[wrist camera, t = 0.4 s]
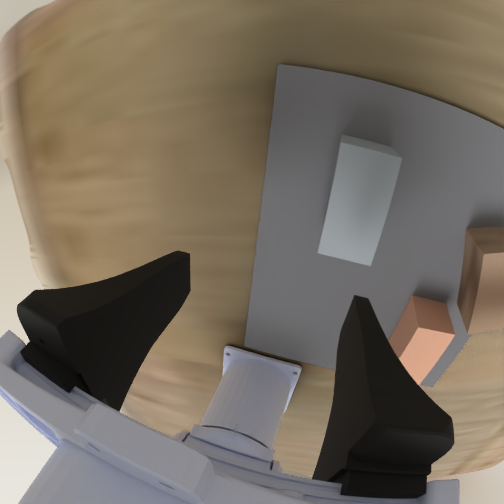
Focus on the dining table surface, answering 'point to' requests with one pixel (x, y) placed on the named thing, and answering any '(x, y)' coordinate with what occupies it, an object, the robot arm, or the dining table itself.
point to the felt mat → (397, 221)
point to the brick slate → (359, 199)
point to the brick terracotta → (422, 336)
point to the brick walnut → (482, 280)
